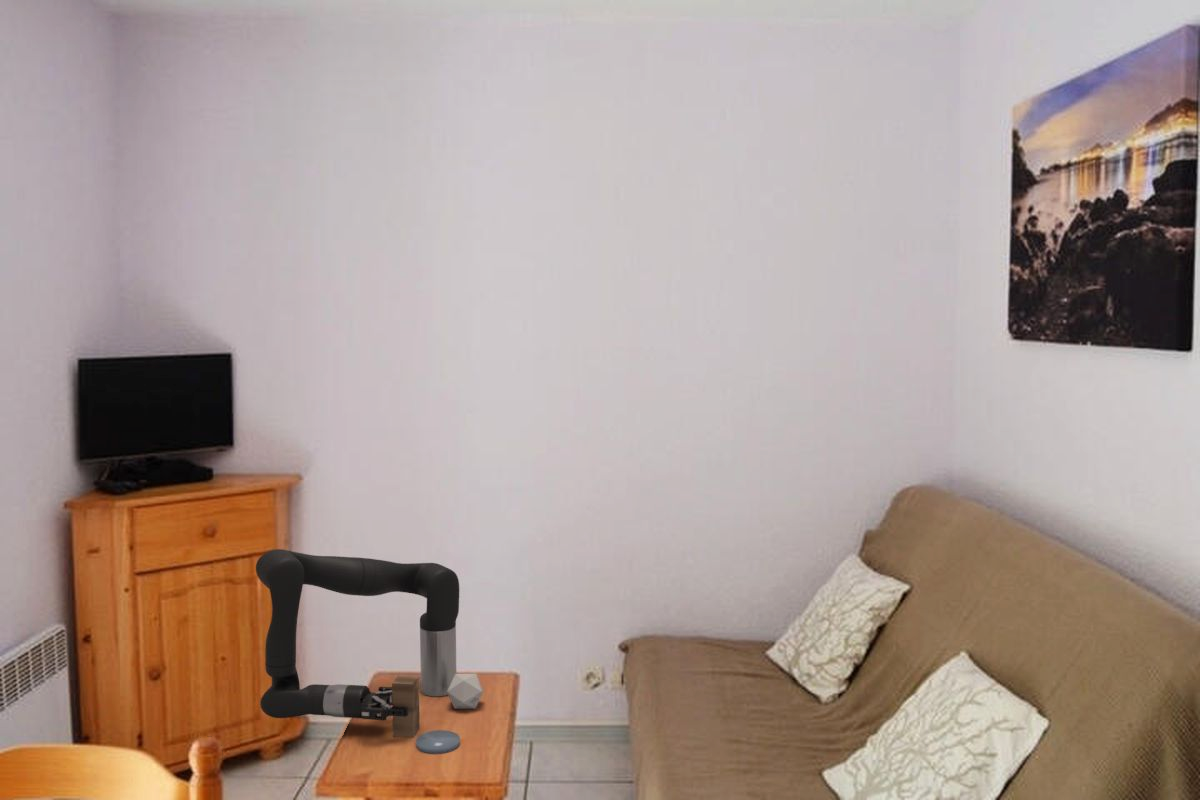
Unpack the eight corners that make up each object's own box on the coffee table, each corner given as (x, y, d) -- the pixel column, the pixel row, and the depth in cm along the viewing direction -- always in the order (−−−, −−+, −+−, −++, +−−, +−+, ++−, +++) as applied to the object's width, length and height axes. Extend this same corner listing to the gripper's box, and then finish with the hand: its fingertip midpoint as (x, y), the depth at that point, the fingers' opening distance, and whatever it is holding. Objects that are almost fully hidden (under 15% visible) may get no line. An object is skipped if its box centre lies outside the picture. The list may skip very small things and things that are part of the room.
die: (467, 719, 268) (489, 683, 271) (437, 699, 269) (459, 663, 272) (471, 718, 277) (492, 683, 279) (441, 698, 278) (463, 664, 280)
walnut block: (399, 727, 262) (398, 675, 260) (419, 728, 261) (418, 676, 260) (393, 736, 257) (392, 683, 255) (413, 737, 256) (412, 684, 255)
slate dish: (415, 737, 256) (415, 732, 256) (458, 733, 258) (458, 728, 258) (417, 755, 247) (416, 750, 247) (461, 751, 249) (461, 746, 249)
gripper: (335, 697, 252) (404, 700, 251) (356, 674, 266) (421, 678, 265) (336, 728, 253) (404, 732, 251) (357, 704, 267) (421, 707, 265)
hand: (413, 704), depth 258 cm, fingers open, 8 cm apart
